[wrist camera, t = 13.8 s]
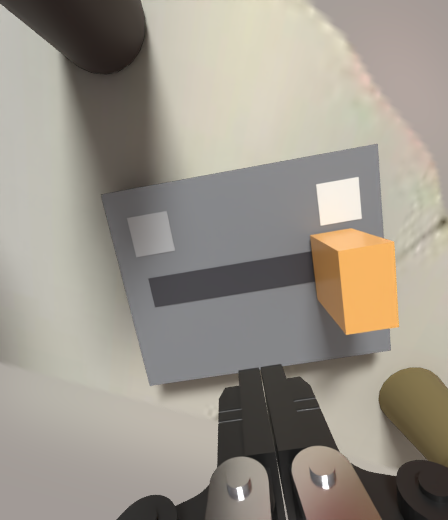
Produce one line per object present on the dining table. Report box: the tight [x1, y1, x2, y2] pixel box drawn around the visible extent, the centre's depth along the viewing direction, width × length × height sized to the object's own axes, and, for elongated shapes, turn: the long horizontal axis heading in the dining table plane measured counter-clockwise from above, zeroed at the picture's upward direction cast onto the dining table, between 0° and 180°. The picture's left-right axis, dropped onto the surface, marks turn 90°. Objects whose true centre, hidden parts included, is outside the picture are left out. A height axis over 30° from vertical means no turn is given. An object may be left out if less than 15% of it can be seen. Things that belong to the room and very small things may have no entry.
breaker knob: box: [310, 228, 399, 335], centre depth 20 cm, size 3×5×6 cm, turn 10°
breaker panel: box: [101, 144, 391, 386], centre depth 25 cm, size 20×16×3 cm
